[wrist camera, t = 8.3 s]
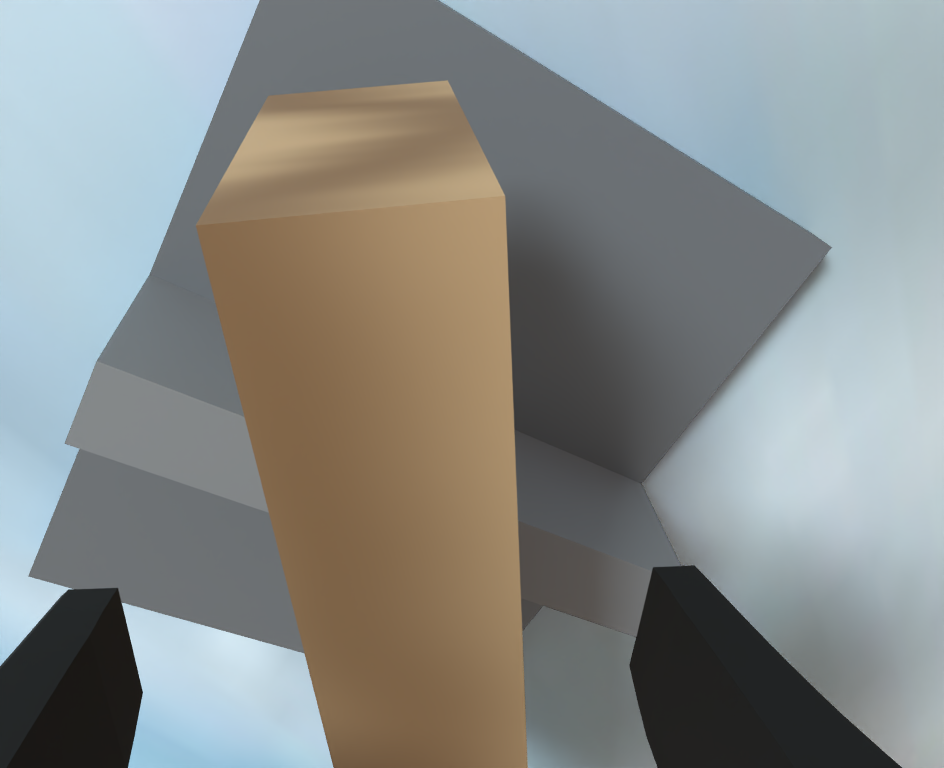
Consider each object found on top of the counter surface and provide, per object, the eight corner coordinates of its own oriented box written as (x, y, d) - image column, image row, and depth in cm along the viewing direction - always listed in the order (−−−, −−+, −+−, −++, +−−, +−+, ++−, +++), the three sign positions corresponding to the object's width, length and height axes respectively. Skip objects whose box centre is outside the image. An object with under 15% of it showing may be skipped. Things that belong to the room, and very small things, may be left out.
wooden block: (447, 80, 12) (504, 195, 7) (497, 765, 22) (537, 1028, 16) (268, 95, 12) (195, 225, 7) (396, 780, 21) (406, 1051, 16)
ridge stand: (812, 233, 20) (932, 319, 16) (464, 674, 27) (482, 815, 23) (298, -87, 15) (272, -90, 11) (41, 551, 22) (-37, 700, 18)
